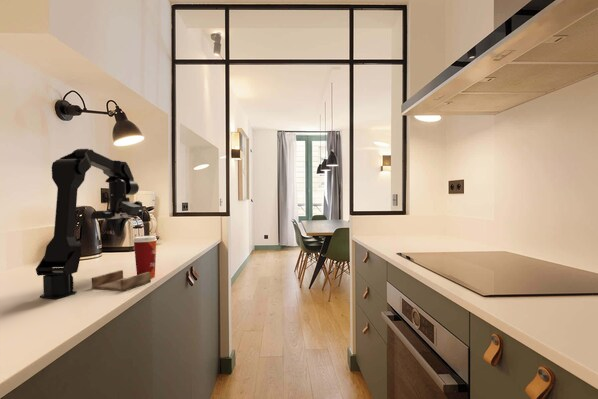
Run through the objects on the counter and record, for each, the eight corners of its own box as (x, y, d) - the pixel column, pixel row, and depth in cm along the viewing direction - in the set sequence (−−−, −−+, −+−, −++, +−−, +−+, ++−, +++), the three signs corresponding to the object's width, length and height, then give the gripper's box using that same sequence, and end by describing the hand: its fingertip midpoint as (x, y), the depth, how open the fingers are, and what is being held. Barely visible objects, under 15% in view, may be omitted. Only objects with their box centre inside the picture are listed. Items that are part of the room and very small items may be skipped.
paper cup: (160, 277, 119) (159, 236, 119) (136, 281, 115) (134, 238, 115) (155, 273, 126) (154, 234, 126) (132, 276, 122) (130, 236, 121)
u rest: (124, 291, 103) (123, 280, 103) (91, 288, 107) (91, 277, 107) (150, 281, 114) (150, 272, 114) (120, 279, 118) (120, 270, 118)
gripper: (114, 194, 119) (115, 240, 119) (153, 194, 137) (154, 234, 137) (89, 195, 122) (90, 239, 123) (130, 194, 140) (131, 233, 141)
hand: (118, 236), depth 131 cm, fingers closed
